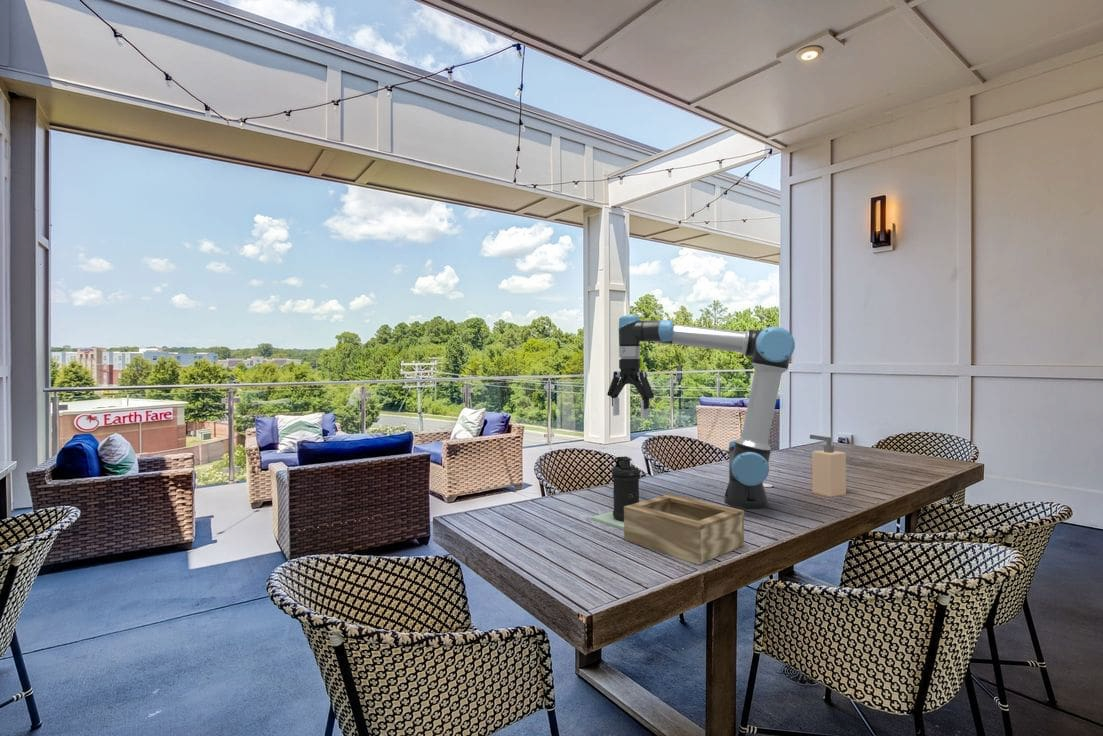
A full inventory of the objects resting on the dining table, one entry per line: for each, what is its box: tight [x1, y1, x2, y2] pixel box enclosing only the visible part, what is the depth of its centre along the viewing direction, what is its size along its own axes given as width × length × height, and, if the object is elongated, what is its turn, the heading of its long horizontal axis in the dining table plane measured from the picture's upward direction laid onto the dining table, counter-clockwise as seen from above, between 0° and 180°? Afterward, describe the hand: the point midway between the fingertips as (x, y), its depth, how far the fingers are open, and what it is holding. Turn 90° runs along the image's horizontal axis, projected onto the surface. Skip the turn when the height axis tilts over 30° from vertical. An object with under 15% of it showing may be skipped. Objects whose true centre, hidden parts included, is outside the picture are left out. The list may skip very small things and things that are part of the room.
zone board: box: [591, 511, 624, 531], centre depth 179 cm, size 16×16×1 cm
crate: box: [623, 493, 745, 565], centre depth 156 cm, size 22×26×10 cm
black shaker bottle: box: [611, 456, 641, 521], centre depth 179 cm, size 9×11×20 cm
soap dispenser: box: [809, 434, 847, 498], centre depth 213 cm, size 13×9×22 cm
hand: (629, 416), depth 195 cm, fingers open, 13 cm apart
